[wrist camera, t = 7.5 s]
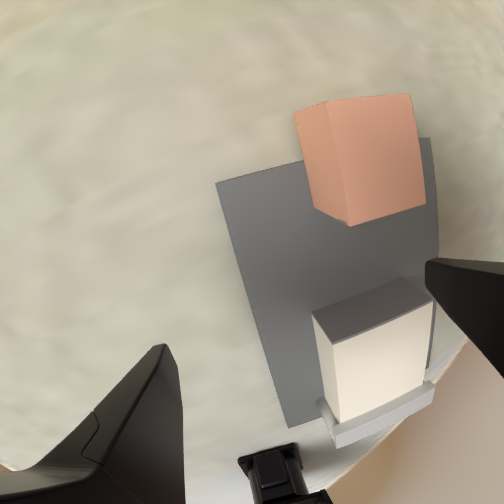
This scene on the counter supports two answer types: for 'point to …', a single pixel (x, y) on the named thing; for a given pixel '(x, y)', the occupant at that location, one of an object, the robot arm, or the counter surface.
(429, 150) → the grey flat tray
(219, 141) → the counter surface
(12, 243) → the counter surface
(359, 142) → the stub
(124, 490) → the robot arm
